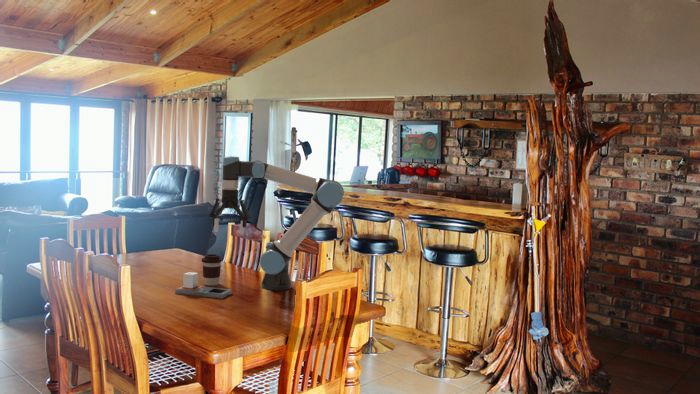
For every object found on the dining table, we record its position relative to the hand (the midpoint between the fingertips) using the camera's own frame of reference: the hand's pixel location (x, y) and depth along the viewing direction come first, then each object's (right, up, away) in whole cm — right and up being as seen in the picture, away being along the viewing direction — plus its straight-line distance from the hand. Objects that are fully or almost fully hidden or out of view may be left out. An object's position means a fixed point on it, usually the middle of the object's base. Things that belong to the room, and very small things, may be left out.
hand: (229, 233), depth 281 cm
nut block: (-18, -28, -3) cm, 33 cm away
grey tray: (-11, -29, -4) cm, 31 cm away
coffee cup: (-12, -27, +16) cm, 34 cm away
